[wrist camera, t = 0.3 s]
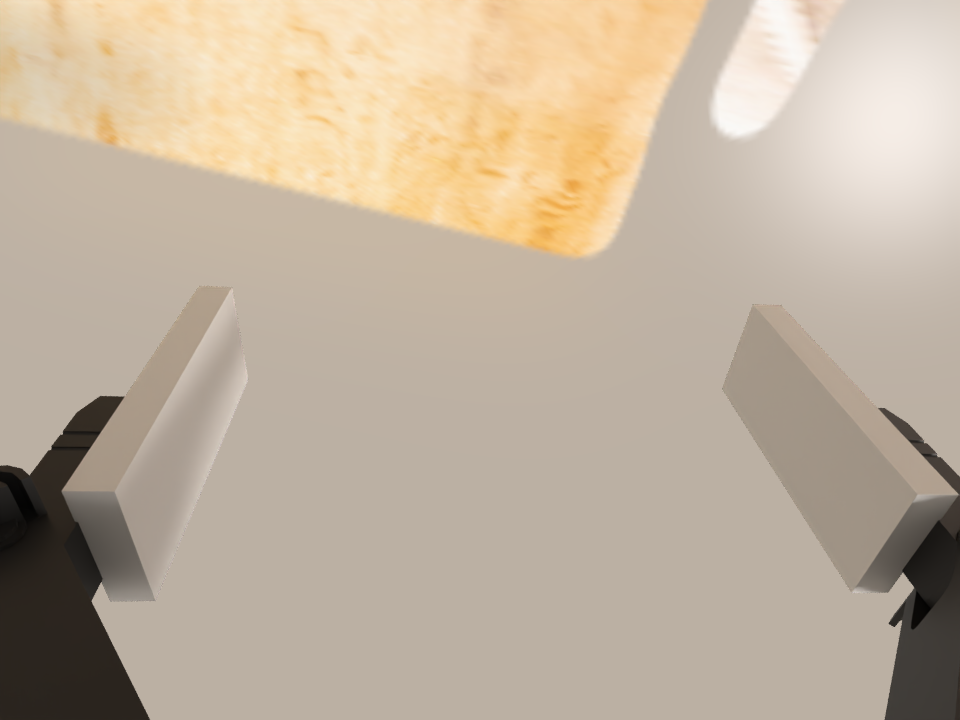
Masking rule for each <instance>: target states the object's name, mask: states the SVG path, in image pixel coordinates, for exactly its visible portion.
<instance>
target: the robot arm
mask: <svg viewBox="0 0 960 720" xmlns="http://www.w3.org/2000/svg"><path fill="white" fill-rule="evenodd" d="M247 381H248V376H247V370H246V364H245V358H244V352H243V347H242V341H241V335H240V330H239V324H238V318H237V312H236V307H235V301H234V296H233V290H232V287H212V286H211V287H210V286H199V287H198V288H197V290H196V292H195V293H194V294H193V296H192V298H191V299H190V301H189V302H188V303H187V305H186V307H185V308H184V309H183V311H182V312H181V314H180V315H179V317H178V318H177V320H176V321H175V323H174V324H173V326H172V327H171V329H170V330H169V332H168V333H167V335H166V336H165V338H164V339H163V341H162V342H161V344H160V345H159V347H158V348H157V350H156V351H155V353H154V354H153V356H152V357H151V359H150V360H149V362H148V363H147V365H146V366H145V368H144V369H143V371H142V372H141V374H140V375H139V376H138V378H137V380H136V381H135V383H134V384H133V385H132V387H131V389H130V390H129V391H128V393H127V394H126V396H125V397H118V396H116V397H115V396H100V397H99V398H97V399H95V400H94V401H93V402H91V403H90V404H88V405H87V406H85V407H84V408H83V409H81V410H80V411H78V412H77V413H76V414H75V416H74V417H73V418H72V420H71V421H70V422H69V424H68V425H67V426H66V428H65V429H64V430H63V435H60V436H59V437H58V439H57V440H56V441H55V442H54V444H53V445H52V449H51V450H49V451H48V452H47V453H46V454H45V456H44V457H43V458H42V460H41V461H40V462H39V464H38V465H37V466H36V468H35V469H34V470H33V472H32V473H31V474H30V476H29V475H28V474H27V473H26V472H25V471H24V470H23V469H21V468H17V467H12V466H8V465H6V466H0V720H150V719H149V717H148V715H147V713H146V711H145V709H144V707H143V705H142V703H141V701H140V699H139V697H138V695H137V693H136V691H135V689H134V687H133V685H132V683H131V681H130V679H129V677H128V674H127V672H126V670H125V668H124V667H123V664H122V662H121V660H120V658H119V656H118V654H117V652H116V650H115V649H114V646H113V644H112V642H111V640H110V638H109V636H108V634H107V632H106V630H105V628H104V626H103V624H102V622H101V620H100V618H99V616H98V614H97V612H96V610H95V608H94V606H93V604H92V602H91V601H92V599H93V597H94V595H95V593H96V591H97V589H98V587H99V585H100V583H101V582H102V584H103V586H104V589H105V591H106V593H107V595H108V598H109V600H110V601H155V600H156V598H157V596H158V594H159V591H160V589H161V586H162V584H163V582H164V579H165V577H166V575H167V572H168V570H169V567H170V565H171V563H172V560H173V558H174V556H175V553H176V551H177V548H178V546H179V544H180V541H181V539H182V536H183V534H184V532H185V529H186V527H187V524H188V522H189V520H190V517H191V515H192V513H193V510H194V508H195V505H196V503H197V501H198V498H199V496H200V493H201V491H202V488H203V486H204V483H205V481H206V479H207V477H208V474H209V472H210V470H211V467H212V465H213V462H214V460H215V458H216V455H217V453H218V450H219V448H220V446H221V443H222V441H223V438H224V436H225V433H226V431H227V429H228V426H229V424H230V422H231V419H232V417H233V414H234V412H235V410H236V407H237V405H238V402H239V400H240V398H241V395H242V393H243V391H244V388H245V386H246V383H247ZM722 389H723V391H724V393H725V394H726V396H727V397H728V399H729V401H730V402H731V404H732V405H733V407H734V408H735V410H736V412H737V413H738V415H739V416H740V418H741V420H742V421H743V423H744V424H745V426H746V427H747V429H748V431H749V432H750V433H751V435H752V437H753V438H754V440H755V442H756V443H757V445H758V446H759V448H760V449H761V451H762V453H763V454H764V456H765V457H766V459H767V460H768V462H769V464H770V465H771V467H772V468H773V470H774V471H775V473H776V474H777V476H778V477H779V479H780V481H781V482H782V484H783V486H784V487H785V489H786V490H787V492H788V493H789V495H790V497H791V498H792V500H793V501H794V503H795V504H796V506H797V508H798V509H799V511H800V512H801V514H802V515H803V517H804V519H805V520H806V522H807V523H808V525H809V526H810V528H811V529H812V531H813V533H814V534H815V536H816V537H817V539H818V540H819V542H820V544H821V545H822V547H823V548H824V550H825V551H826V553H827V555H828V556H829V558H830V559H831V561H832V562H833V564H834V566H835V567H836V569H837V570H838V572H839V574H840V575H841V577H842V578H843V580H844V581H845V583H846V585H847V586H848V588H849V589H850V591H851V592H852V593H880V592H881V593H883V592H884V593H885V592H889V591H890V589H891V588H892V587H893V585H894V584H895V582H896V581H897V580H898V578H899V577H900V575H901V574H902V573H904V574H905V575H906V577H907V578H908V579H909V581H910V582H911V584H912V585H913V586H914V589H913V591H912V592H911V593H910V595H909V596H908V597H907V599H906V600H905V601H904V603H903V604H902V605H901V606H900V608H899V609H898V610H897V612H896V613H895V614H894V616H893V617H892V619H891V621H890V622H889V624H890V625H891V626H893V627H895V626H896V625H897V623H898V622H899V621H900V620H902V626H901V631H900V637H899V643H898V648H897V654H896V659H895V665H894V671H893V676H892V682H891V687H890V693H889V698H888V704H887V710H886V716H885V720H960V477H959V476H958V475H957V474H956V473H955V472H954V471H953V470H952V469H951V468H950V466H949V465H947V463H946V462H945V461H944V460H943V459H942V458H941V457H937V453H936V452H935V451H934V450H933V449H932V448H931V447H930V446H929V445H928V444H926V443H924V440H923V439H922V438H921V437H920V436H919V435H918V434H917V433H916V432H915V430H914V429H913V428H912V427H911V426H910V425H909V424H908V423H906V422H905V421H903V420H902V419H900V418H899V417H897V416H895V415H894V414H893V413H891V412H889V411H888V410H886V409H885V408H877V407H876V406H875V405H874V404H873V403H872V402H871V401H870V400H869V398H867V397H866V396H865V394H864V393H863V392H862V391H861V390H860V389H859V388H858V387H857V386H856V385H855V384H854V383H853V381H852V380H851V379H850V378H849V377H848V376H847V375H846V374H845V373H844V372H843V371H842V370H841V369H840V368H839V367H838V365H837V364H836V363H835V362H834V361H833V360H832V359H831V358H830V357H829V356H828V355H827V354H826V353H825V352H824V351H823V350H822V348H820V346H819V345H818V344H817V343H816V342H815V341H814V340H813V339H812V338H811V337H810V336H809V335H808V334H807V333H806V331H804V329H803V328H802V327H801V326H800V325H799V324H798V323H797V322H796V321H795V320H794V319H793V318H792V317H791V315H790V314H788V312H787V311H786V310H785V309H784V308H783V307H782V306H781V305H758V304H755V305H754V304H753V306H752V308H751V311H750V314H749V316H748V319H747V322H746V325H745V327H744V330H743V333H742V336H741V338H740V341H739V344H738V346H737V350H736V352H735V355H734V358H733V360H732V363H731V366H730V368H729V371H728V374H727V377H726V380H725V382H724V385H723V388H722Z"/></svg>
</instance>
